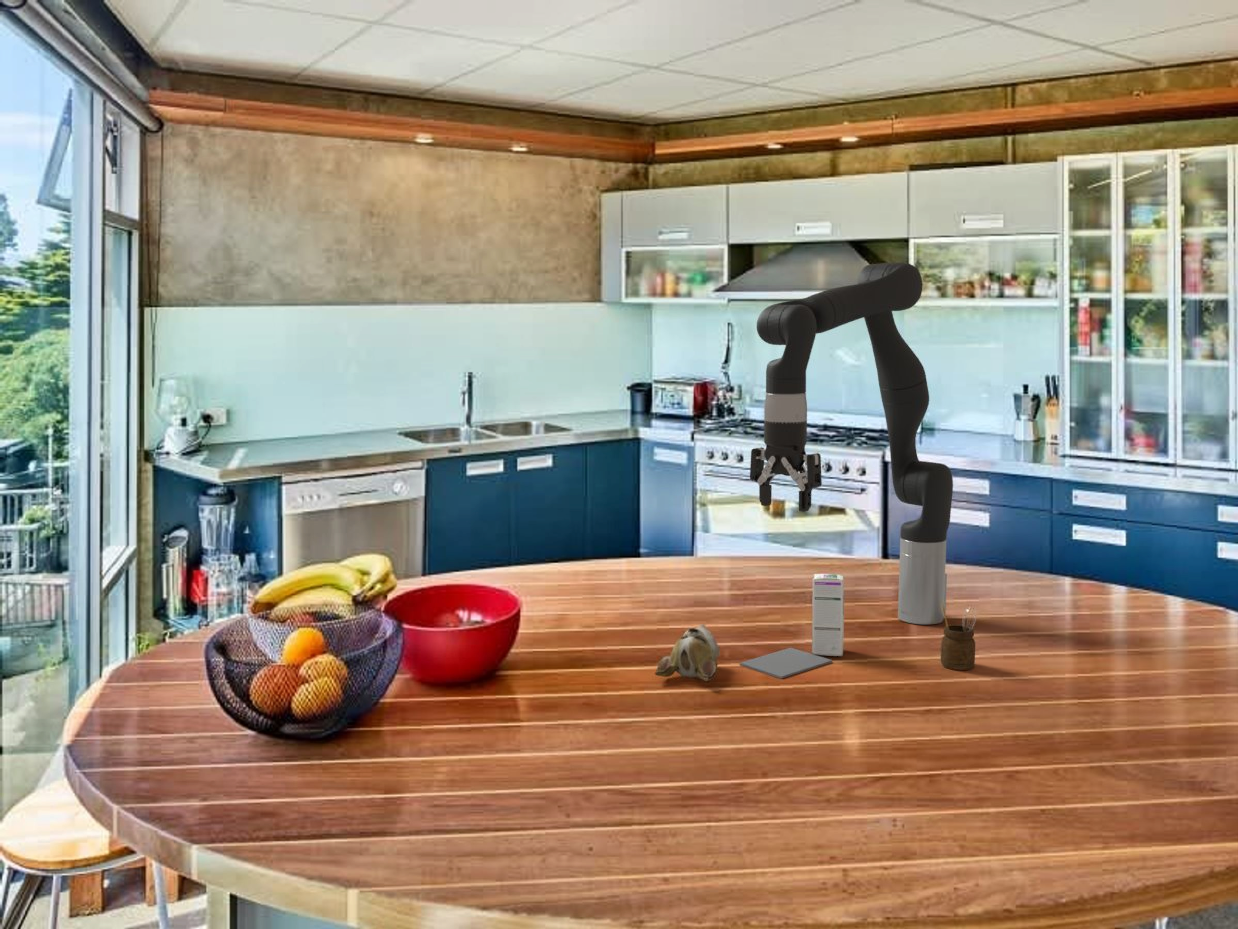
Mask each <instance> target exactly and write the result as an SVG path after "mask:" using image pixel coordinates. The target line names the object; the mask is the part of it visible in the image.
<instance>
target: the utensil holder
mask: <svg viewBox="0 0 1238 929" xmlns="http://www.w3.org/2000/svg"><path fill="white" fill-rule="evenodd" d="M941 604H942V609H943V614H944V618H943V619H944V620H945V626H944V629H943V635H944V636H942V638H941V643H940V664H941V666H943V667H944V668H946V669H949V670H953V671H968V670H971V669H973V668H974V667H975V662H976V661H975V660H976V641H975V639H974V636H975V633H974V632H975V631H974V628H973V627H974V626H975V624H972V627H971V626H969V625H965V623H966V622H965V621H966V620H965V619H966V618H967V619H969V617H970V616H972V615H974V616H973V617H970V619H969V620H971V619H972V618H973V620H972V621H971V623H976V621H977V620H976V619H977V617H978V615H977V613H978V612H977V610H976V609H975V608H974V607H972V606H971V607H969V606H968V608H965V610H964V611H963V615H962V616H963V617H962V624H948V619H947V616H946V614H945V610H944V607H943V603H942V600H941ZM969 610H970V611H972V610H974V614H973V613H971V612H969ZM968 612H969V613H968ZM965 613H968V615H970V616H968V617H966V616H965V615H966V614H965ZM969 620H967V623H968V624H970V621H969ZM968 621H969V622H968Z"/></svg>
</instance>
